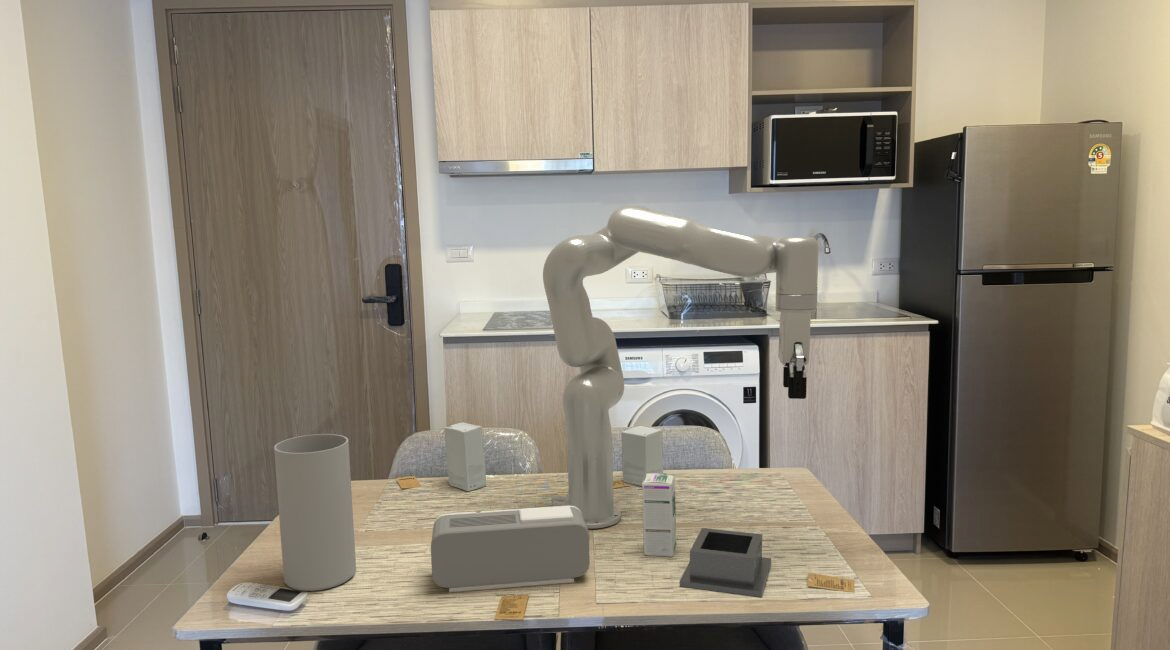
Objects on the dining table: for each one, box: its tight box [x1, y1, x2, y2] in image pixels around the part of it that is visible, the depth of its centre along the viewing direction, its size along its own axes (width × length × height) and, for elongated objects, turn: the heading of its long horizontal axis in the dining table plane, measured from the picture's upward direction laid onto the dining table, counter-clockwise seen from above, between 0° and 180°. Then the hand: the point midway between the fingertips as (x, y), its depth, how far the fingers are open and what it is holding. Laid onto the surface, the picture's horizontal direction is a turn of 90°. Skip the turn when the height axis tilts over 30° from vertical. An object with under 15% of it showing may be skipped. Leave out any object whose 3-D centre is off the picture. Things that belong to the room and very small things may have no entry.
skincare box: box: [444, 421, 487, 492], centre depth 195 cm, size 8×6×15 cm
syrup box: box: [641, 472, 677, 558], centre depth 155 cm, size 6×6×14 cm
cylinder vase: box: [273, 433, 357, 592], centre depth 145 cm, size 12×12×25 cm
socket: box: [679, 527, 772, 598], centre depth 144 cm, size 14×14×6 cm
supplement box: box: [620, 425, 664, 487], centre depth 196 cm, size 7×7×13 cm
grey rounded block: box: [430, 505, 591, 593], centre depth 145 cm, size 27×9×12 cm, turn 98°
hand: (794, 392), depth 154 cm, fingers open, 9 cm apart
